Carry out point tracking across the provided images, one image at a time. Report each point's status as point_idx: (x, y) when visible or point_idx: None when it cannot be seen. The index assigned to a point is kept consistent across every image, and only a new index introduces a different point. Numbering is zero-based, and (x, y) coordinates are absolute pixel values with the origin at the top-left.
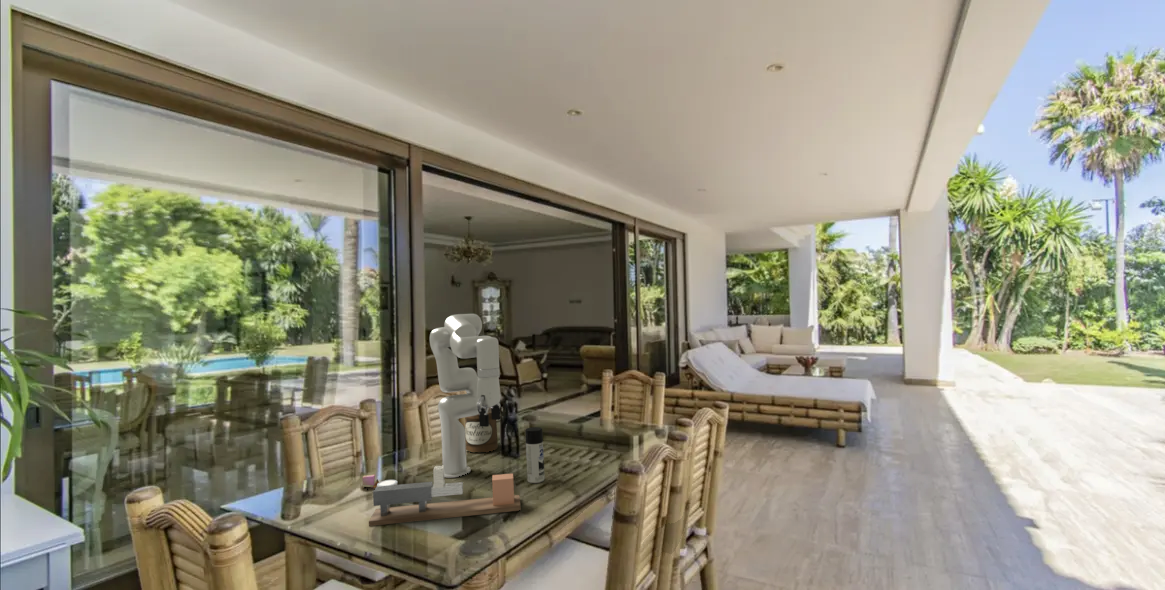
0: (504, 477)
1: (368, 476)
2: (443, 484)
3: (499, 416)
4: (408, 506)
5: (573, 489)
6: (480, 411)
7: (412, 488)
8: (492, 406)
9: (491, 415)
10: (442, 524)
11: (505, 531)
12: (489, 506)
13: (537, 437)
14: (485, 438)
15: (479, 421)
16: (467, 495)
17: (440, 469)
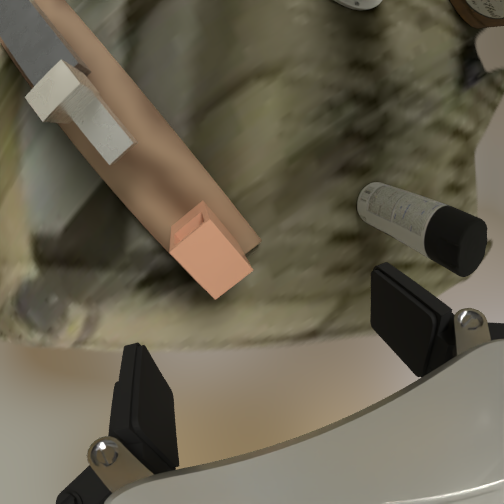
0: (209, 271)
1: None
2: (72, 117)
3: (385, 337)
4: (78, 27)
5: (343, 306)
6: (91, 492)
7: (18, 63)
8: (453, 336)
9: (394, 279)
10: (54, 170)
11: (105, 317)
12: (162, 221)
13: (442, 265)
14: (479, 6)
15: (120, 374)
16: (226, 86)
17: (38, 115)
